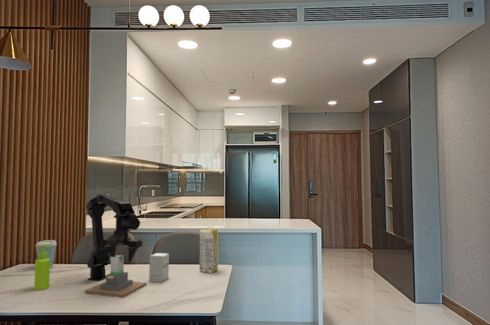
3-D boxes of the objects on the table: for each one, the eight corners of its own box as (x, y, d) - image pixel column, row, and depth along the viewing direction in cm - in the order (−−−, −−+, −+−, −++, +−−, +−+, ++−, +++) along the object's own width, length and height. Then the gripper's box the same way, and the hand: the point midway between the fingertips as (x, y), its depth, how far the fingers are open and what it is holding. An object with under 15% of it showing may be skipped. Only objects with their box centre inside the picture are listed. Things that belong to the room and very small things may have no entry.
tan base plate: (84, 293, 155) (84, 277, 156) (110, 281, 173) (110, 267, 173) (123, 297, 150) (124, 280, 150) (146, 285, 167) (146, 270, 168)
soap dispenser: (53, 286, 165) (55, 243, 166) (41, 290, 159) (42, 246, 160) (44, 285, 167) (45, 242, 168) (31, 289, 161) (32, 245, 162)
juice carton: (219, 270, 194) (220, 227, 195) (210, 274, 187) (211, 228, 188) (206, 268, 199) (206, 225, 200) (197, 271, 192) (197, 227, 193)
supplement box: (162, 282, 172) (163, 256, 173) (148, 281, 174) (149, 255, 174) (168, 278, 180) (169, 253, 180) (155, 277, 181) (155, 252, 182)
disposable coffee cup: (49, 270, 194) (50, 243, 195) (30, 270, 194) (31, 242, 195) (59, 265, 205) (60, 239, 205) (41, 265, 205) (42, 239, 206)
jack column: (110, 279, 160) (110, 256, 161) (115, 276, 164) (116, 255, 165) (118, 279, 159) (118, 257, 160) (123, 277, 163) (123, 255, 164)
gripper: (93, 229, 161) (93, 263, 160) (129, 231, 156) (128, 266, 155) (109, 226, 171) (108, 258, 171) (143, 227, 166) (142, 261, 166)
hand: (121, 261), depth 165 cm, fingers open, 9 cm apart
